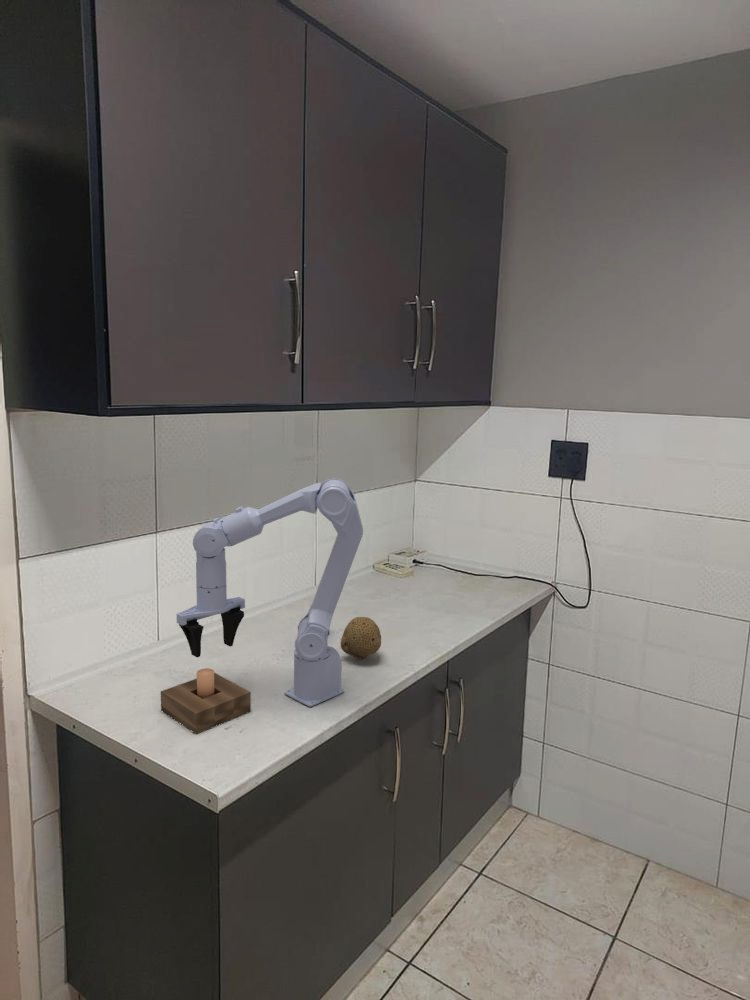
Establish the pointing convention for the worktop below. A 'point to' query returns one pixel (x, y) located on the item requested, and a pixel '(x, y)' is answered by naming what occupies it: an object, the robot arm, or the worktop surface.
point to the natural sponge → (361, 638)
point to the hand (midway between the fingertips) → (212, 650)
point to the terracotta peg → (205, 683)
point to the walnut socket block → (205, 704)
